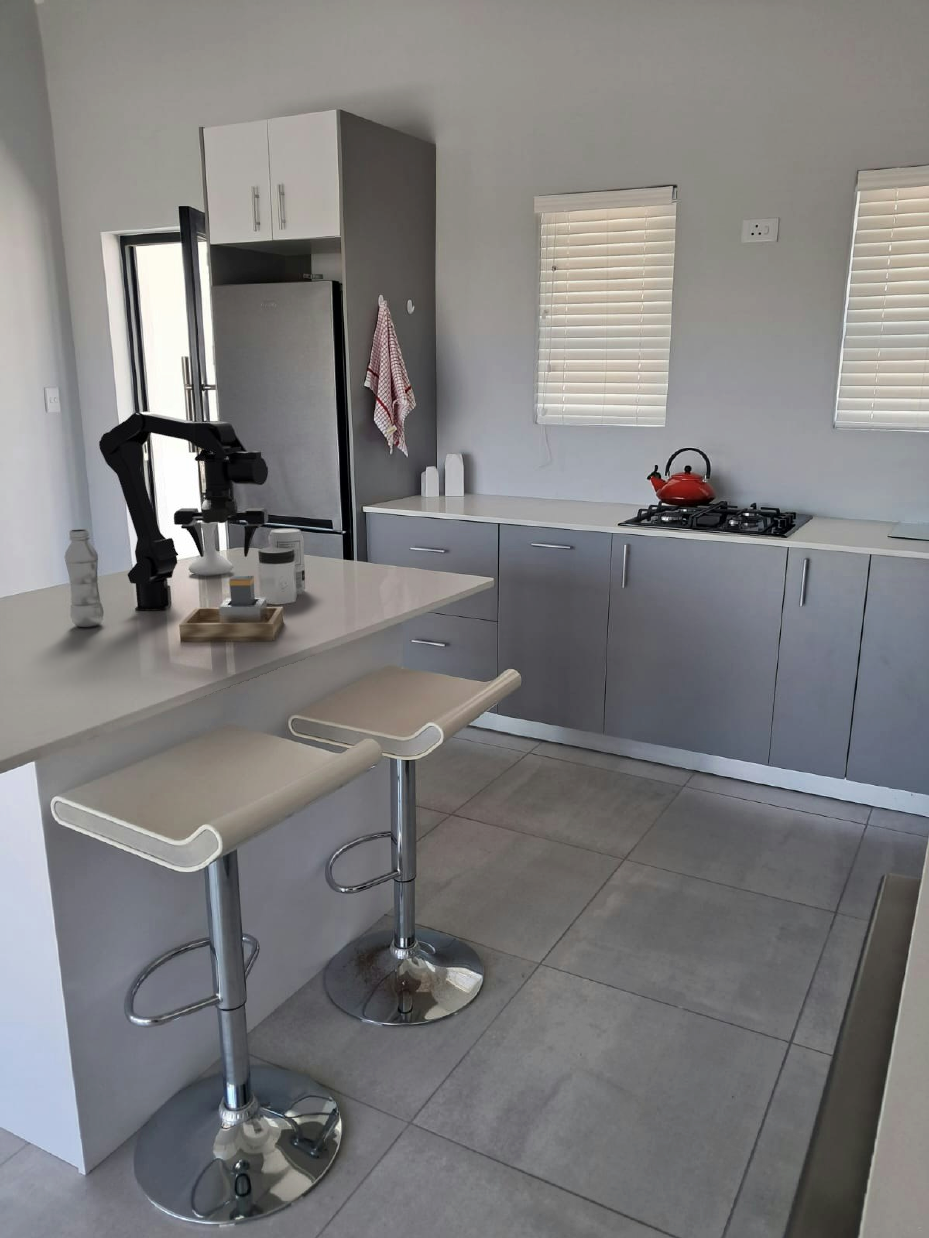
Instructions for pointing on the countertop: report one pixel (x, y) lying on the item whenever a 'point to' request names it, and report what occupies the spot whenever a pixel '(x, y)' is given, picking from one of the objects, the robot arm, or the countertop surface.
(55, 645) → the countertop surface
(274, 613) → the oak box
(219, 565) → the flower in vase
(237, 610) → the socket
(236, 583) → the block
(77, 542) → the plastic bottle
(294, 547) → the supplement can
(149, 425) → the robot arm
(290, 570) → the jar
